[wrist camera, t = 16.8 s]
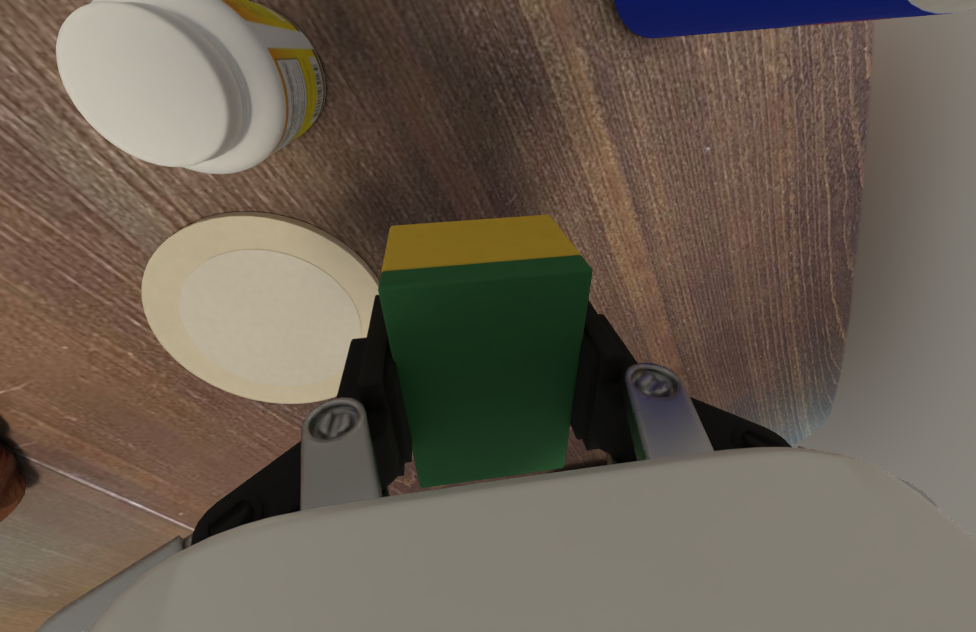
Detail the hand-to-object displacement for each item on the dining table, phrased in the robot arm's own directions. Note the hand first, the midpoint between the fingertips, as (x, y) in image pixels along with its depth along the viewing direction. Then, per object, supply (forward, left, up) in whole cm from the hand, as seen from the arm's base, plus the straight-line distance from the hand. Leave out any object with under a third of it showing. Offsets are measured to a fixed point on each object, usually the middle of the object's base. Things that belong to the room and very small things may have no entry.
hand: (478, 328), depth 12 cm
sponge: (0, 0, -1) cm, 1 cm away
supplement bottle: (-7, -9, -14) cm, 18 cm away
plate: (+7, -13, -14) cm, 20 cm away
